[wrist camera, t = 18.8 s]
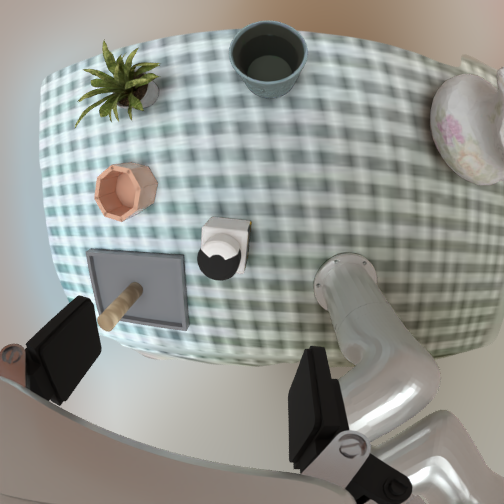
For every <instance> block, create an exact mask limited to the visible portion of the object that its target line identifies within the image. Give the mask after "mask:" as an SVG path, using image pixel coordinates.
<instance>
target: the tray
mask: <svg viewBox="0 0 504 504" xmlns="http://www.w3.org/2000/svg"><path fill="white" fill-rule="evenodd" d="M86 257H87V262H88V268H89V273H90V278H91V283H92V288H93V292H94V297H95V301H96V305H97V309H98V313H99V316H100V315H101V314H102V313H103V312H104V311H105V310H106V308H107V307H108V306H109V305H110V304H111V303H112V302H113V301H114V300H115V299H116V298H117V297H118V296H119V295H120V294H121V293H122V292H123V291H124V290H125V289H126V288H127V287H128V286H129V285H130V284H131V283H132V282H137V283H139V284H140V285H141V286H142V288H143V293H142V295H141V296H140V297H139V298H138V299H137V300H136V302H135V303H134V304H133V305H132V306H131V307H130V309H129V310H128V311H127V312H126V313H125V315H124V316H123V317H122V318H121V319H120V321H125V322H130V323H136V324H142V325H148V326H154V327H161V328H168V329H175V330H183V331H187V329H188V327H189V317H188V306H187V294H186V280H185V264H184V255H178V254H163V253H148V252H133V251H119V250H105V249H90V250H88V251H87V252H86Z"/></svg>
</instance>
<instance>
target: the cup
mask: <svg viewBox="0 0 504 504" xmlns="http://www.w3.org/2000/svg"><path fill="white" fill-rule="evenodd" d="M157 185H158V182H157V181H156V179H155V177H154V175H153V174H152V172H151V170H150V168H149V167H148V166H145V165H141V164H136V163H132V162H130V163H121V164H114V165H111V166H110V167H109V168H107V169H106V170H105V171H104V172H103V173H102V174H101V175H99V176H98V177H97V182H96V190H95V198H94V199H95V200H96V202H97V204H98V206H99V208H100V210H101V211H102V213H103V215H104V217H108V218H111V219H114V220H118V221H121V222H123V221H124V220H126V219H128V218H130V217H132V216H134V215H136V214H138V213H140V212H141V211H143V210H144V209H146V208H147V207H149V206H150V205H151V204H153V203H154V200H155V195H156V190H157Z"/></svg>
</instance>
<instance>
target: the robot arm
mask: <svg viewBox="0 0 504 504" xmlns="http://www.w3.org/2000/svg"><path fill="white" fill-rule="evenodd" d="M335 260H336V261H335ZM363 261H364V262H363ZM318 283H319V284H318ZM314 294H315V297H316V299H317V301H318V303H319V304H320V305H321V307H323V308H324V309H325V310H327V311H329V314H330V317H331V320H332V324H333V327H334V330H335V333H336V337H337V340H338V344H339V347H340V350H341V352H342V354H343V355H344V356H345V358H346V359H347V360H349V361H350V362H351V363H353V364H355V365H356V366H355V367H354V368H352V369H351V370H350V371H348V372H347V373H346V374H345V375H344V376H342V377H341V378H339V379H338V380H337V379H331V374H330V369H329V365H328V360H327V355H326V351H325V348H324V347H317V346H310V348H309V349H305V350H304V353H303V356H302V358H301V361H300V364H299V367H298V369H297V372H296V375H295V377H294V380H293V382H292V385H291V388H290V390H289V394H288V412H289V413H288V415H289V461H290V462H293V463H294V469H300V473H301V474H296V473H289V472H281V471H272V470H264V469H256V468H248V467H241V466H235V465H229V464H223V463H217V462H212V461H207V460H202V459H198V458H193V457H189V456H185V455H181V454H177V453H173V452H169V451H166V450H163V449H159V448H156V447H152V446H150V445H146V444H143V443H141V442H137V441H135V440H132V439H129V438H127V437H124V436H121V435H118V434H116V433H114V432H111V431H109V430H106V429H104V428H102V427H99V426H97V425H94V424H92V423H90V422H88V421H86V420H84V419H82V418H80V417H78V416H75V415H73V414H72V413H69V412H68V411H66V410H64V409H62V408H60V407H58V406H56V405H54V404H53V403H51V402H49V400H50V399H51V401H52V402H54V403H56V404H57V405H59V406H60V405H61V404H62V402H63V401H66V400H67V399H68V398H69V396H70V395H71V394H72V392H73V391H74V389H75V388H76V386H77V385H78V384H79V382H80V381H81V379H82V378H83V377H84V375H85V374H86V372H87V371H88V370H89V368H90V367H91V366H92V364H93V363H94V362H95V360H96V359H97V358H98V356H99V355H100V353H101V343H100V338H99V333H98V328H97V322H96V316H95V310H94V304H93V303H92V302H91V300H90V299H89V298H86V297H83V296H77V297H76V298H75V299H74V300H72V301H71V302H70V303H69V304H68V305H67V306H66V307H65V308H64V309H63V310H61V311H60V312H59V313H58V314H57V315H56V316H55V317H54V318H52V319H51V320H50V321H49V322H48V323H47V324H46V325H45V326H44V327H43V328H42V329H41V330H39V332H37V333H36V334H35V335H34V336H33V337H32V338H31V339H30V340H29V341H28V342H27V343H26V346H27V348H26V349H24V348H23V347H22V346H21V345H19V344H9V345H7V346H5V347H4V348H3V349H2V350H1V351H0V504H426V503H425V502H424V501H423V500H422V499H421V498H420V497H419V495H422V496H424V497H425V498H426V500H427V501H428V503H429V504H504V478H503V477H501V476H500V475H498V474H497V473H495V472H493V471H492V470H491V469H490V468H489V467H488V466H487V465H486V463H485V461H484V459H483V458H482V456H481V454H480V452H479V451H478V449H477V447H476V446H475V444H474V442H473V440H472V439H471V437H470V436H469V434H468V432H467V431H466V429H465V428H464V426H463V425H462V423H461V422H460V420H459V419H458V418H457V417H456V416H455V415H454V414H453V413H451V412H450V411H447V410H439V411H436V412H433V413H432V414H429V415H428V416H426V417H424V418H423V419H421V420H420V421H418V422H416V423H415V424H413V425H412V426H410V427H409V428H407V429H405V430H404V431H402V432H400V433H399V434H397V435H396V436H394V437H392V438H390V439H389V440H387V441H386V442H383V443H382V444H380V445H378V446H373V445H371V444H370V442H372V441H374V440H375V439H377V438H379V437H380V436H382V435H384V434H387V433H389V432H390V431H392V430H394V429H395V428H397V427H398V426H400V425H401V424H403V423H404V422H406V421H407V420H409V419H411V418H412V417H413V416H415V415H416V414H417V413H419V412H420V411H421V410H422V409H424V408H425V407H426V406H427V404H429V402H431V400H432V399H433V398H434V397H435V395H436V394H437V392H438V390H439V387H440V383H441V373H440V369H439V367H438V365H437V363H436V362H435V360H434V358H433V357H432V356H431V354H430V353H429V352H428V351H427V350H426V349H425V348H424V347H423V346H422V345H421V344H420V343H419V342H418V341H417V340H416V339H415V338H414V336H413V335H412V334H411V333H410V332H409V331H408V329H407V328H406V327H405V325H404V324H403V323H402V321H401V320H400V318H399V317H398V315H397V314H396V312H395V311H394V309H393V308H392V306H391V305H390V303H389V302H388V300H387V299H386V298H385V296H384V295H383V293H382V292H381V290H380V289H379V287H378V286H377V274H376V271H375V269H374V267H373V265H372V264H371V263H370V262H369V261H368V260H367V259H366V258H365V257H363V256H361V255H358V254H354V253H343V254H339V255H336V256H334V257H332V258H330V259H329V260H327V261H326V262H325V263H324V264H323V265H322V266H321V268H320V269H319V270H318V272H317V274H316V276H315V280H314Z"/></svg>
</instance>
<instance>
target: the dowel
mask: <svg viewBox="0 0 504 504" xmlns="http://www.w3.org/2000/svg"><path fill="white" fill-rule="evenodd" d="M142 293H143V288H142V286H141V285H140V284H139V283H137V282H132V283H131V284H130V285H129V286H128V287H127V288H126V289H125V290H124V291H123V292H122V293H121V294H120V295H119V296H118V297H117V298H116V299H115V300H114V301H113V302H112V303H111V304H110V305H109V306H108V307H107V308H106V310H105V311H104V312H103V313H102V314H101V315H100V316H99V317H98V319H97V321H98V324H99V326H100V327H101V328H102V329H103V330H105V331H111V330H112V329H113V328H114V327H115V325H116V324H117V323H118V322H119V321H120V319H121V318H122V317H123V316H124V315H125V313H126V312H127V311H128V310H129V309H130V307H131V306H132V305H133V304H134V303H135V302H136V300H137V299H138V298H139V297H140V296H141V295H142Z"/></svg>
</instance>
